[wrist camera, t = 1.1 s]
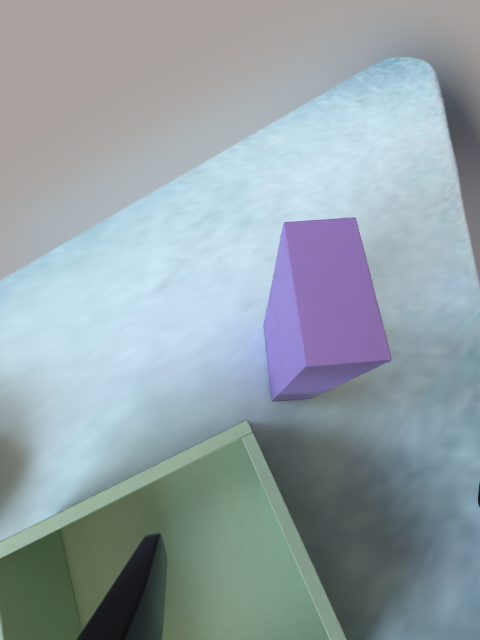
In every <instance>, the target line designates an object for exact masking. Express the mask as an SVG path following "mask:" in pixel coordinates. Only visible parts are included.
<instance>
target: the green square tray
mask: <svg viewBox="0 0 480 640" xmlns="http://www.w3.org/2000/svg"><path fill="white" fill-rule="evenodd" d="M153 533H161V535H162V538H163V541H164V545H165V549H166V553H167V578H166V593H165V607H164V622H163V634H162V640H347V638H346V636H345V633H344V631H343V629H342V627H341V625H340V622H339V620H338V618H337V616H336V613H335V611H334V609H333V607H332V605H331V602H330V600H329V598H328V596H327V594H326V591H325V589H324V587H323V585H322V583H321V580H320V578H319V576H318V574H317V572H316V569H315V567H314V565H313V563H312V561H311V558H310V556H309V554H308V552H307V549H306V547H305V545H304V543H303V541H302V538H301V536H300V534H299V532H298V530H297V527H296V525H295V523H294V521H293V519H292V516H291V514H290V512H289V510H288V508H287V505H286V503H285V501H284V499H283V496H282V494H281V492H280V490H279V488H278V485H277V483H276V481H275V479H274V477H273V474H272V472H271V470H270V468H269V466H268V463H267V461H266V459H265V457H264V455H263V452H262V450H261V448H260V446H259V443H258V441H257V439H256V437H255V435H254V433H253V430H252V428H251V426H250V424H249V421H248V420H245V421H243V422H241V423H239V424H237V425H235V426H233V427H231V428H229V429H227V430H225V431H223V432H221V433H219V434H217V435H215V436H213V437H211V438H209V439H207V440H205V441H203V442H201V443H199V444H197V445H195V446H193V447H191V448H189V449H187V450H185V451H183V452H180V453H178V454H176V455H174V456H172V457H170V458H168V459H166V460H164V461H162V462H160V463H158V464H156V465H154V466H152V467H150V468H148V469H146V470H144V471H142V472H140V473H138V474H136V475H134V476H132V477H130V478H128V479H126V480H124V481H122V482H120V483H118V484H116V485H114V486H112V487H110V488H108V489H106V490H104V491H102V492H100V493H98V494H96V495H94V496H92V497H90V498H88V499H86V500H84V501H82V502H79V503H77V504H75V505H73V506H71V507H69V508H67V509H65V510H63V511H61V512H59V513H57V514H55V515H53V516H51V517H49V518H47V519H45V520H43V521H41V522H39V523H37V524H35V525H33V526H31V527H29V528H27V529H25V530H23V531H21V532H19V533H17V534H15V535H13V536H11V537H9V538H7V539H5V540H3V541H1V542H0V640H76V639H77V638H78V636H79V635H80V633H81V632H82V630H83V629H84V627H85V626H86V624H87V623H88V621H89V620H90V618H91V617H92V615H93V614H94V612H95V611H96V609H97V607H98V606H99V604H100V603H101V601H102V600H103V598H104V597H105V595H106V594H107V592H108V591H109V589H110V588H111V586H112V585H113V583H114V582H115V580H116V579H117V577H118V576H119V574H120V573H121V571H122V569H123V568H124V566H125V565H126V563H127V562H128V560H129V559H130V557H131V556H132V554H133V553H134V551H135V550H136V548H137V547H138V545H139V544H140V542H141V541H142V539H143V538H144V537H145V536H146V535H148V534H153Z"/></svg>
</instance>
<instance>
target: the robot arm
mask: <svg viewBox="0 0 480 640" xmlns="http://www.w3.org/2000/svg"><path fill="white" fill-rule="evenodd" d="M478 504H479V507H480V484H479V493H478ZM166 578H167V553H166V549H165V545H164V541H163V538H162V535H161V533H153V534H148V535H146V536H145V537H144V538H143V539H142V541H141V542H140V544H139V545H138V547H137V548H136V550H135V551H134V553H133V554H132V556H131V557H130V559H129V560H128V562H127V563H126V565H125V566H124V568H123V569H122V571H121V573H120V574H119V576H118V577H117V579H116V580H115V582H114V583H113V585H112V586H111V588H110V589H109V591H108V592H107V594H106V595H105V597H104V598H103V600H102V601H101V603H100V604H99V606H98V607H97V609H96V611H95V612H94V614H93V615H92V617H91V618H90V620H89V621H88V623H87V624H86V626H85V627H84V629H83V630H82V632H81V633H80V635H79V636H78V638H77V639H76V640H162V634H163V622H164V607H165V593H166Z"/></svg>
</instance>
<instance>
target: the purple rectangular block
mask: <svg viewBox="0 0 480 640" xmlns="http://www.w3.org/2000/svg"><path fill="white" fill-rule="evenodd" d="M264 334H265V344H266V353H267V362H268V372H269V381H270V390H271V399H272V401H281V400H294V399H306V398H312V397H314V396H317V395H319V394H321V393H323V392H325V391H327V390H329V389H331V388H334V387H336V386H338V385H340V384H342V383H344V382H346V381H348V380H350V379H353V378H355V377H357V376H359V375H361V374H363V373H365V372H367V371H370V370H372V369H374V368H376V367H378V366H380V365H382V364H384V363H386V362H389V361H391V355H390V351H389V347H388V343H387V339H386V335H385V331H384V327H383V323H382V319H381V315H380V312H379V308H378V304H377V300H376V296H375V292H374V288H373V284H372V280H371V276H370V272H369V268H368V264H367V260H366V256H365V252H364V248H363V245H362V241H361V237H360V233H359V229H358V225H357V221H356V218H355V217H354V218H340V219H325V220H311V221H296V222H284V223H283V228H282V234H281V239H280V244H279V249H278V254H277V259H276V265H275V270H274V275H273V280H272V285H271V290H270V296H269V301H268V306H267V311H266V316H265V321H264Z"/></svg>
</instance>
